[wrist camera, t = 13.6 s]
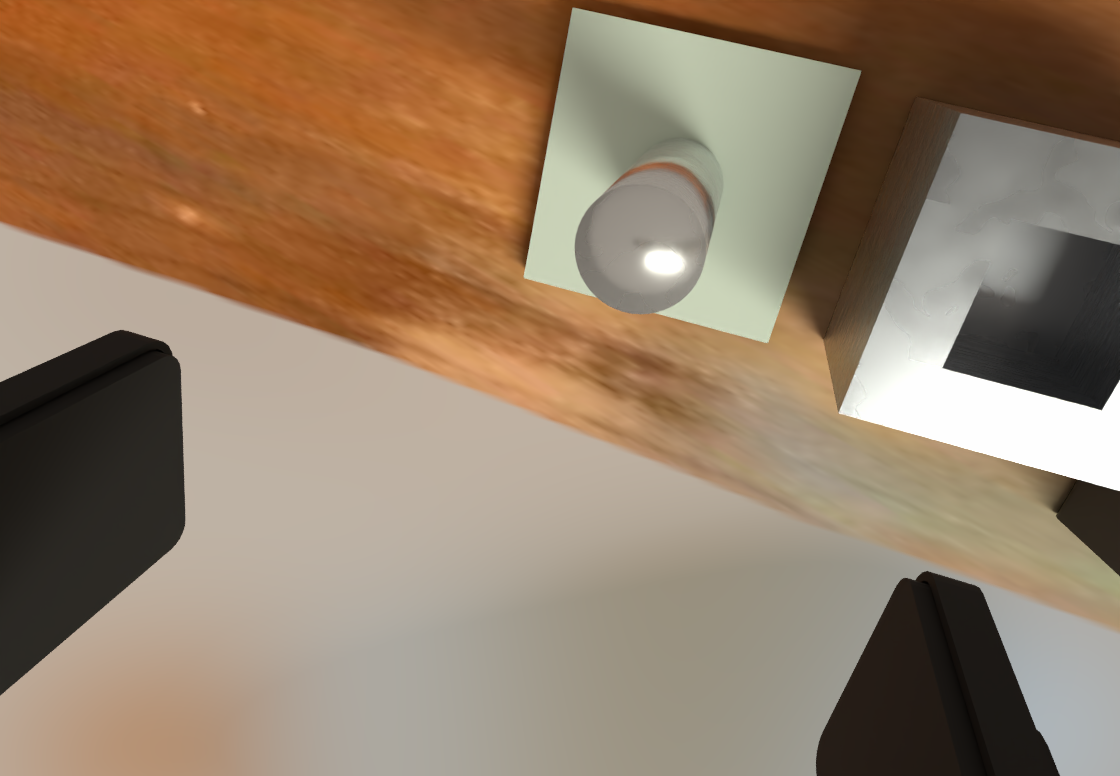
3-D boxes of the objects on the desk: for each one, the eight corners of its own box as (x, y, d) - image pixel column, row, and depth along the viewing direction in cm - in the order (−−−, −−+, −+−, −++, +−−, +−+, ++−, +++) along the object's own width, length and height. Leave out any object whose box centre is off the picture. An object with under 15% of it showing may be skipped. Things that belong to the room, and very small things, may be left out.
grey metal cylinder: (734, 149, 33) (722, 202, 22) (709, 240, 35) (685, 328, 24) (644, 128, 33) (589, 169, 23) (623, 218, 35) (563, 295, 25)
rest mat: (858, 70, 32) (861, 71, 31) (767, 336, 37) (767, 343, 36) (577, 8, 33) (572, 7, 32) (529, 272, 38) (523, 277, 38)
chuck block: (1201, 160, 30) (1337, 196, 23) (1065, 404, 35) (1143, 497, 28) (915, 96, 32) (960, 112, 24) (823, 340, 36) (838, 413, 29)
